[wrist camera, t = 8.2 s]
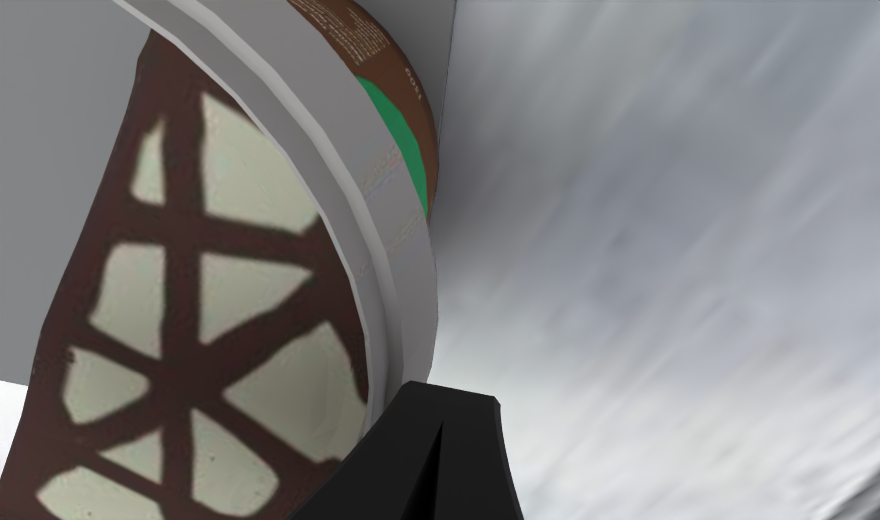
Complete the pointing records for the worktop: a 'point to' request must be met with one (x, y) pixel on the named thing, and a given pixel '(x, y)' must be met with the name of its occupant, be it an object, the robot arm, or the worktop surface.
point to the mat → (103, 133)
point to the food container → (237, 272)
